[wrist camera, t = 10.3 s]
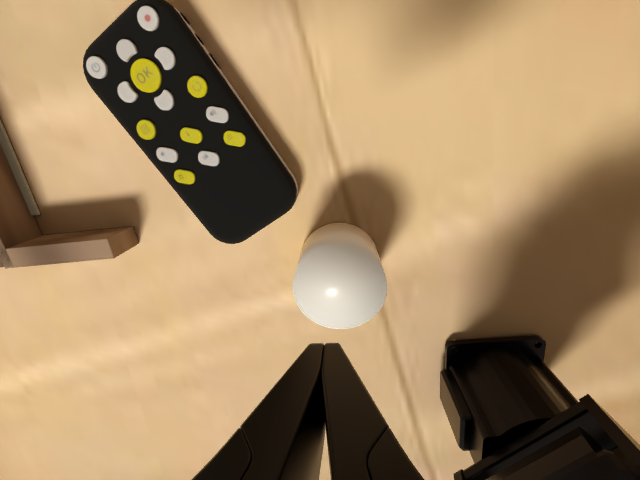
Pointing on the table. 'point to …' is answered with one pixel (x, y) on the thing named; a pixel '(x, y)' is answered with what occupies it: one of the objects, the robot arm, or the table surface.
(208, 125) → the remote control
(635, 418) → the table surface
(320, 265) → the white rounded piece
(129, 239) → the frame
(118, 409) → the table surface
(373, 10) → the table surface
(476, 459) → the robot arm
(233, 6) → the table surface
